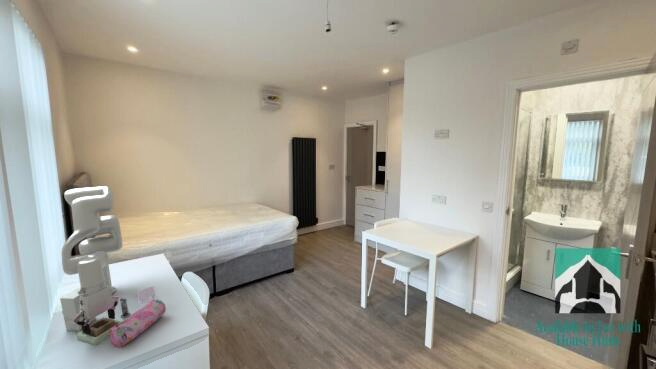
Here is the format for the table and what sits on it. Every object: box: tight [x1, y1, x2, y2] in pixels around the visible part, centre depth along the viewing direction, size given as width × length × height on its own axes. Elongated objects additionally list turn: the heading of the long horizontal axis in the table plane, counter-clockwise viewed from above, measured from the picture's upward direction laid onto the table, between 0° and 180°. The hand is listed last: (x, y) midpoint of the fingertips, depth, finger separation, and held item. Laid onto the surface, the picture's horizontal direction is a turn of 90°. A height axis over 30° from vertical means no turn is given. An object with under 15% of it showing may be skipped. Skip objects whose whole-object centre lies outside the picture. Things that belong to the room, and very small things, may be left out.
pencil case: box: [109, 299, 167, 348], centre depth 113 cm, size 21×9×9 cm, turn 168°
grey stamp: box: [119, 297, 131, 319], centre depth 123 cm, size 4×4×8 cm
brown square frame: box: [86, 317, 116, 337], centre depth 112 cm, size 7×7×4 cm
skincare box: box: [59, 287, 97, 332], centre depth 117 cm, size 8×7×16 cm
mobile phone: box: [137, 286, 157, 304], centre depth 141 cm, size 8×1×15 cm
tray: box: [76, 317, 123, 346], centre depth 112 cm, size 11×11×2 cm
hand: (100, 325), depth 112 cm, fingers open, 9 cm apart
